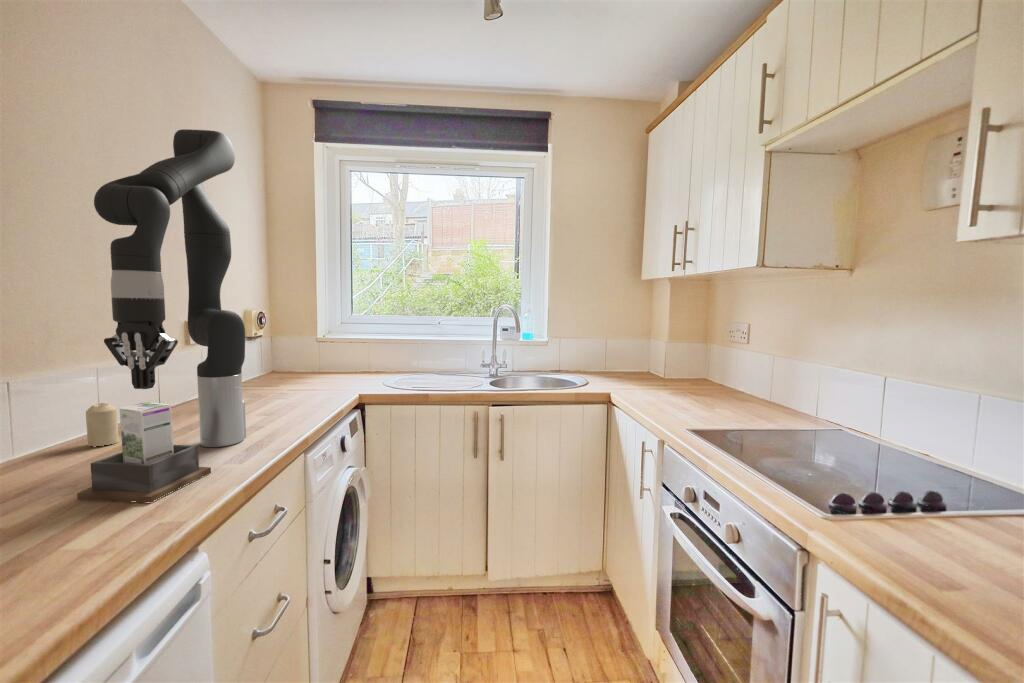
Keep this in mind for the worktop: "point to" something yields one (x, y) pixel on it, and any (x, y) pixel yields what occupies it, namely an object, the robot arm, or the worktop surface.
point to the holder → (143, 476)
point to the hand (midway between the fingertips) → (143, 388)
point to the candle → (102, 425)
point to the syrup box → (146, 432)
